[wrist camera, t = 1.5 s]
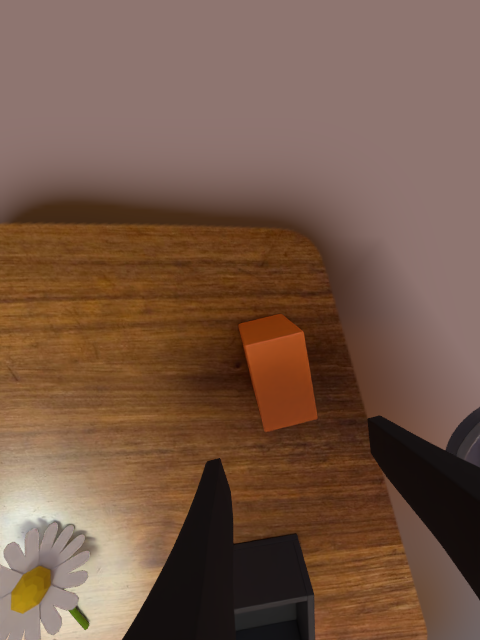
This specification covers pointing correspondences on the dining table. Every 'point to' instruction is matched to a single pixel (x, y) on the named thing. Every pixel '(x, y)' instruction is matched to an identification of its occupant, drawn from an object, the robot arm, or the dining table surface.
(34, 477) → the dining table surface
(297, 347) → the block
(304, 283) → the dining table surface
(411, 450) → the robot arm
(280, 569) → the open box
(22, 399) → the dining table surface
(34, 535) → the decorative flower
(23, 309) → the dining table surface
